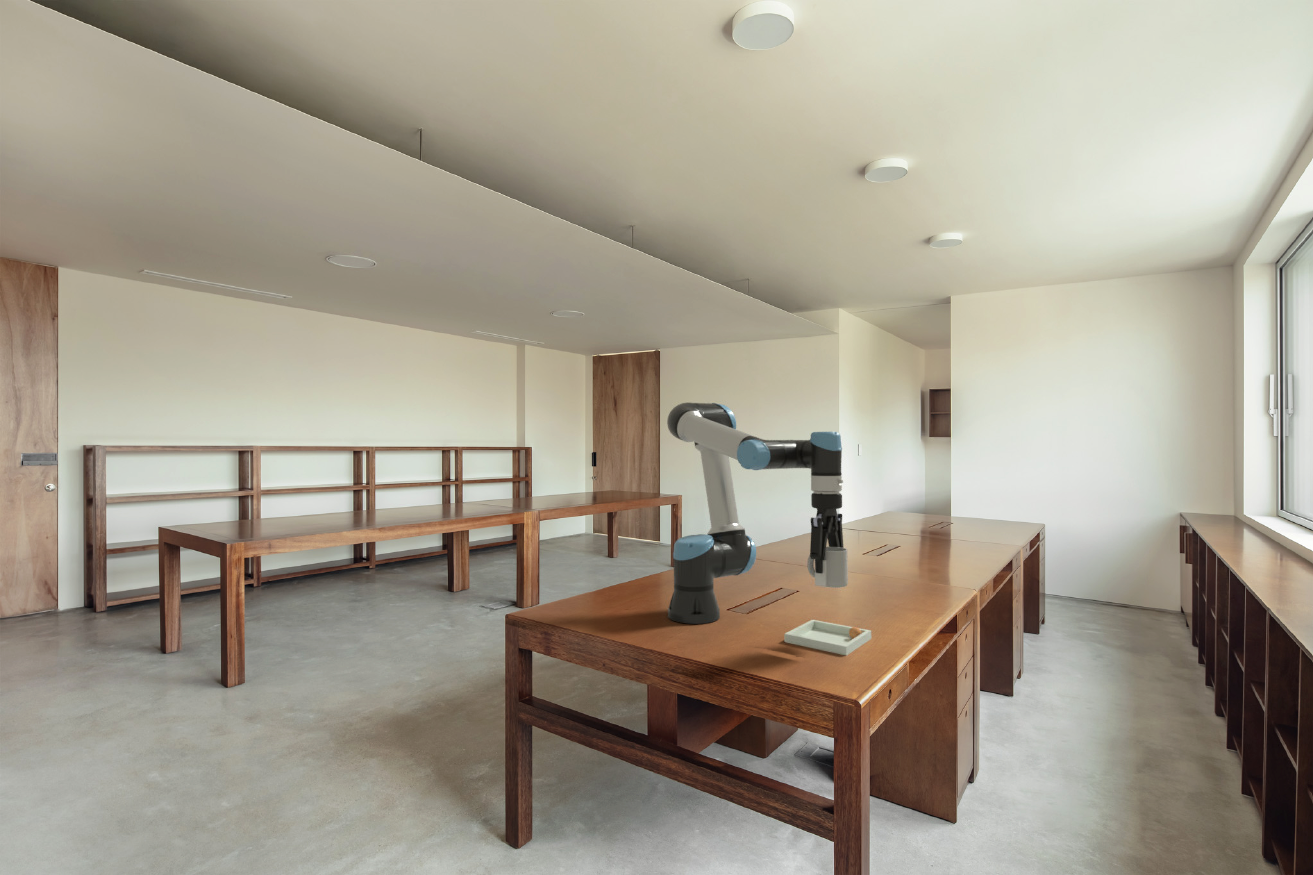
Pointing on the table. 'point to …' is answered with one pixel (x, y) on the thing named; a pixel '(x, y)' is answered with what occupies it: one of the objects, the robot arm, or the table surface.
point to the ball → (854, 632)
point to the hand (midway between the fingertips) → (827, 583)
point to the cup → (833, 567)
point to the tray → (827, 637)
